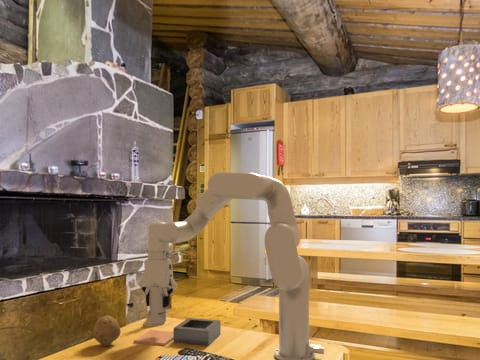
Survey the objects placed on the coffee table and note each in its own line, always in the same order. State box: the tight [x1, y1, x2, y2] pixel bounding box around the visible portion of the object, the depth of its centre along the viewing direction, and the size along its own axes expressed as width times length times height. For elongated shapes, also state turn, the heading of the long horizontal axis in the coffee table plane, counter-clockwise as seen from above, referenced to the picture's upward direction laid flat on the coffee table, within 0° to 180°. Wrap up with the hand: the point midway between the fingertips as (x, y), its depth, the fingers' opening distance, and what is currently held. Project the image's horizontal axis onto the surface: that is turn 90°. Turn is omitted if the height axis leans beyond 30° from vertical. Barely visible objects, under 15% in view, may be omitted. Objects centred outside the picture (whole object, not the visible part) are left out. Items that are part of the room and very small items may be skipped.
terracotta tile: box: [133, 329, 174, 346], centre depth 140 cm, size 12×12×1 cm
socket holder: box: [172, 317, 221, 347], centre depth 140 cm, size 13×13×5 cm
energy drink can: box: [148, 283, 167, 327], centre depth 141 cm, size 6×6×15 cm
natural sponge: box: [92, 315, 121, 347], centre depth 133 cm, size 9×9×10 cm
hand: (157, 305), depth 140 cm, fingers closed on energy drink can, 6 cm apart
